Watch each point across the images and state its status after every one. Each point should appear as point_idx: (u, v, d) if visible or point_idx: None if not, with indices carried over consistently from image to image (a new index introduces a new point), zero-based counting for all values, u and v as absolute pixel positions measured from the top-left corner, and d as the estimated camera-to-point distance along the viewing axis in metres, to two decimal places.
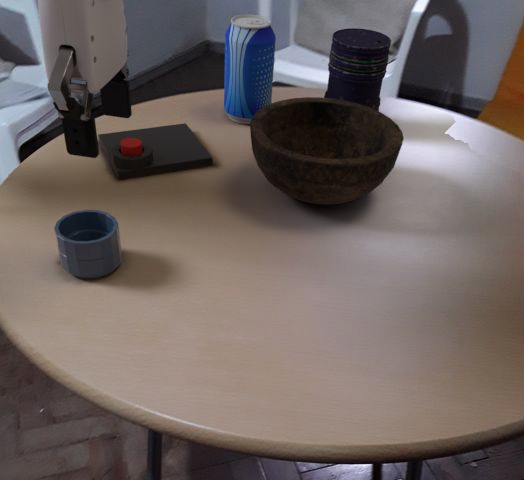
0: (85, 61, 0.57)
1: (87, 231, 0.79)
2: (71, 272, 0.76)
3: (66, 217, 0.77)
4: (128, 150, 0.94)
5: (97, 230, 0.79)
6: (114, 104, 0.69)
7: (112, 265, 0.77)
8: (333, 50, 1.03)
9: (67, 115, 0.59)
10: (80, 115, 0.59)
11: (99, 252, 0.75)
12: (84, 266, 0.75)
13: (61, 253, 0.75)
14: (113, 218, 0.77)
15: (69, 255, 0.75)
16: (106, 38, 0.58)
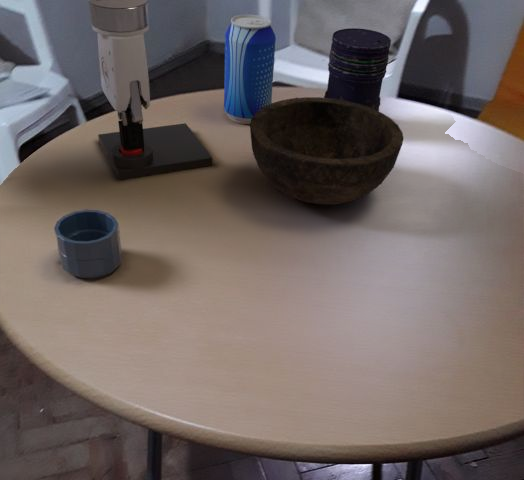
0: (146, 88, 0.85)
1: (87, 231, 0.79)
2: (71, 272, 0.76)
3: (66, 217, 0.77)
4: (128, 155, 0.95)
5: (97, 230, 0.79)
6: None
7: (112, 265, 0.77)
8: (333, 50, 1.03)
9: (132, 123, 0.91)
10: None
11: (99, 252, 0.75)
12: (84, 266, 0.75)
13: (61, 253, 0.75)
14: (113, 218, 0.77)
15: (69, 255, 0.75)
16: None
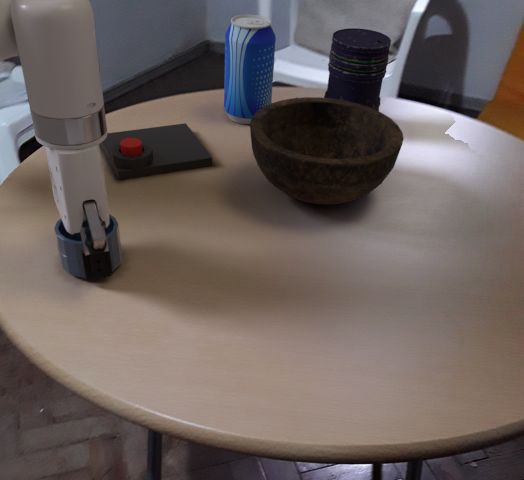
0: (104, 207, 0.69)
1: None
2: (71, 272, 0.76)
3: None
4: (128, 150, 0.94)
5: None
6: None
7: (112, 265, 0.77)
8: (333, 50, 1.03)
9: (95, 252, 0.72)
10: (104, 248, 0.72)
11: None
12: None
13: (61, 253, 0.75)
14: (113, 218, 0.77)
15: (69, 255, 0.75)
16: None
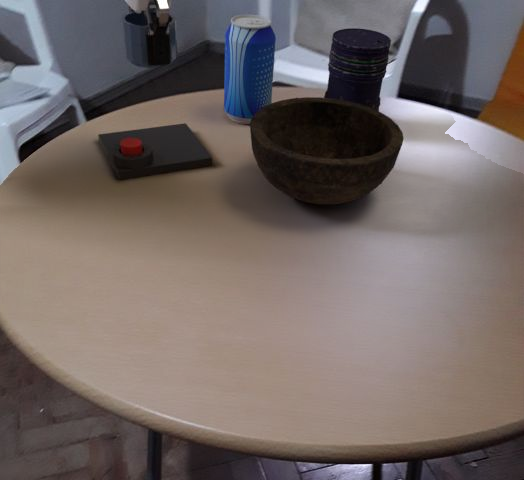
0: None
1: None
2: (134, 60, 0.88)
3: (130, 13, 0.88)
4: (128, 150, 0.94)
5: None
6: None
7: (170, 56, 0.88)
8: (333, 50, 1.03)
9: (159, 31, 0.83)
10: None
11: None
12: None
13: (126, 41, 0.87)
14: (171, 15, 0.88)
15: (134, 41, 0.86)
16: None
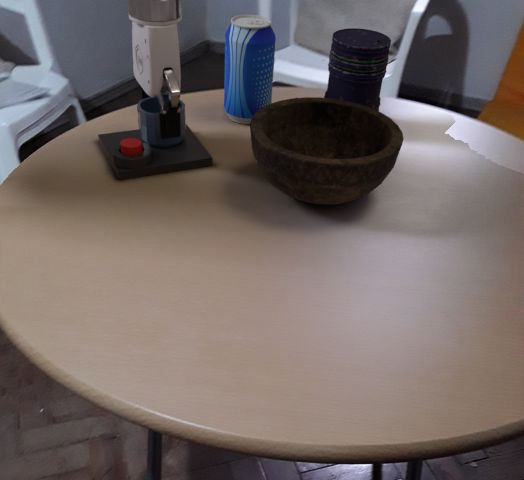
0: (178, 75, 0.92)
1: None
2: (149, 141, 0.99)
3: (145, 100, 1.00)
4: (128, 150, 0.94)
5: None
6: None
7: (180, 137, 1.00)
8: (333, 50, 1.03)
9: (171, 111, 0.93)
10: None
11: None
12: None
13: (142, 126, 0.99)
14: (180, 101, 1.00)
15: (149, 126, 0.98)
16: None
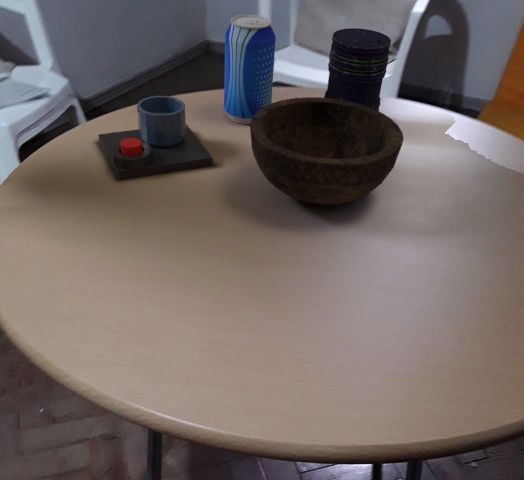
0: None
1: (159, 113, 1.02)
2: (149, 141, 0.99)
3: (145, 100, 1.00)
4: (128, 150, 0.94)
5: (167, 113, 1.02)
6: None
7: (180, 137, 1.00)
8: (333, 50, 1.03)
9: None
10: None
11: (172, 124, 0.98)
12: (160, 135, 0.98)
13: (142, 126, 0.99)
14: (180, 101, 1.00)
15: (149, 126, 0.98)
16: None
